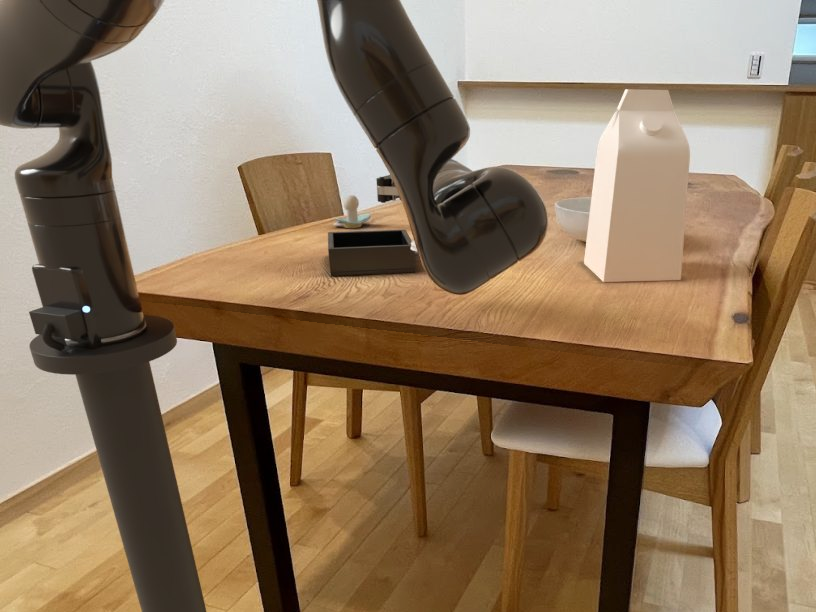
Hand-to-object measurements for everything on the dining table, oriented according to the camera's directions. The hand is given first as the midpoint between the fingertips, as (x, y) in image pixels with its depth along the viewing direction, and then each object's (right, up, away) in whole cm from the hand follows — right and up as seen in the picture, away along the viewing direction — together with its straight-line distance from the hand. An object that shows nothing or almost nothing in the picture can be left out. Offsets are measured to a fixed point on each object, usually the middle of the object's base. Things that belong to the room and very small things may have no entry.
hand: (424, 179), depth 82 cm
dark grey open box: (-12, -6, +24) cm, 27 cm away
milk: (+29, -8, +22) cm, 37 cm away
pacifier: (-22, +6, +52) cm, 56 cm away
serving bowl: (+29, +1, +41) cm, 50 cm away
